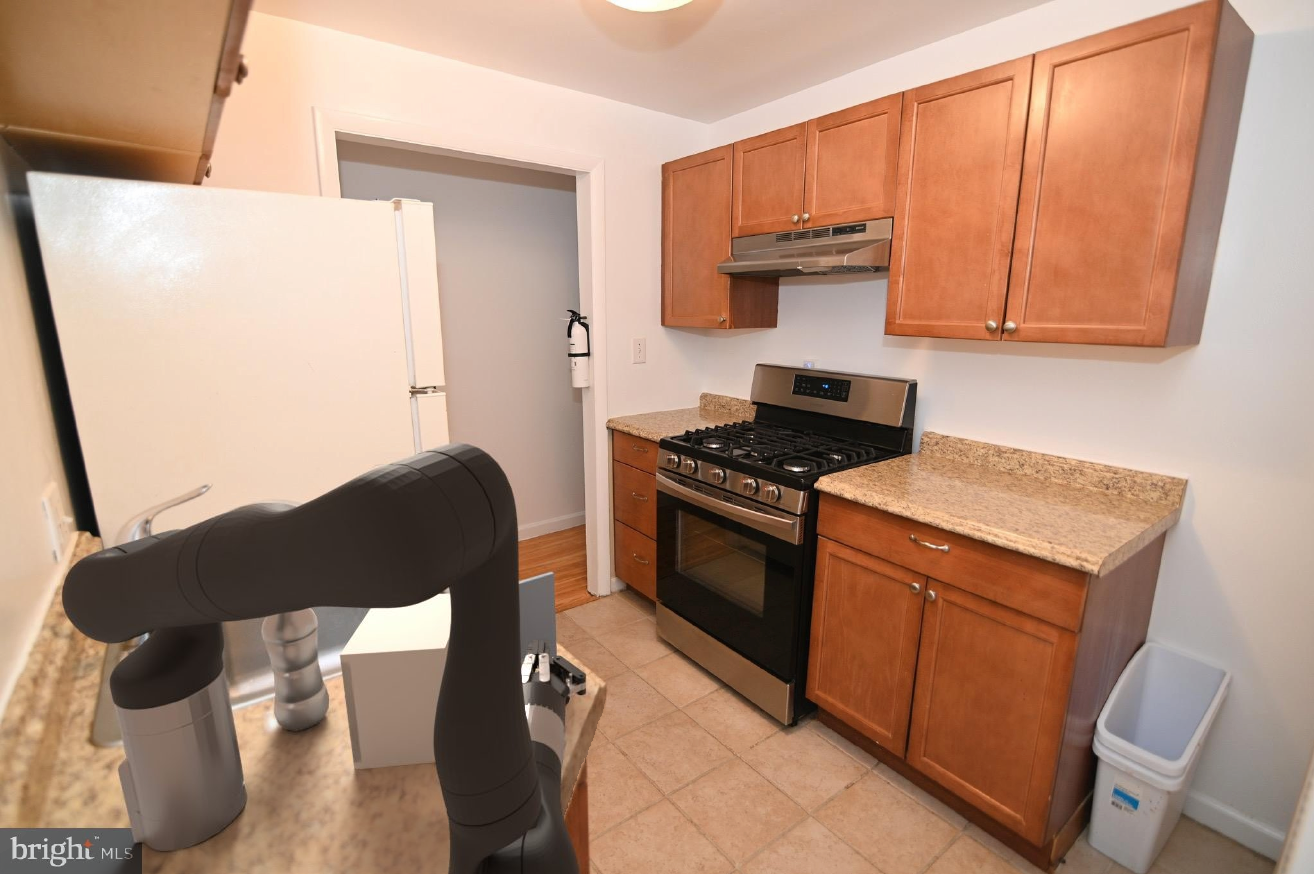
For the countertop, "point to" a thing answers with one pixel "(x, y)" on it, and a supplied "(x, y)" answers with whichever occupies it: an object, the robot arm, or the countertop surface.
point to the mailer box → (396, 682)
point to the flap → (537, 612)
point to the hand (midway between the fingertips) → (539, 644)
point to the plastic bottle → (296, 669)
